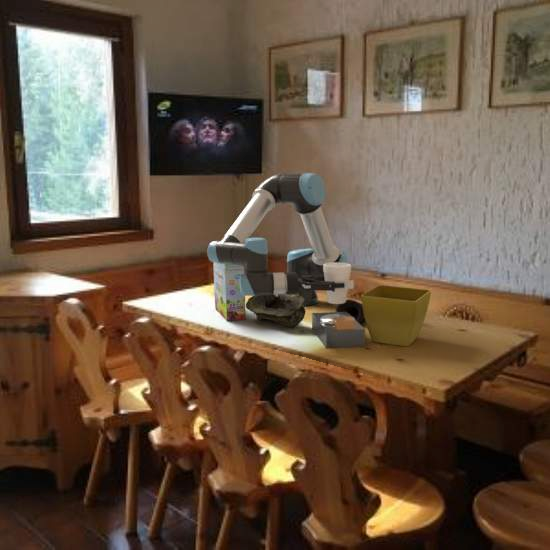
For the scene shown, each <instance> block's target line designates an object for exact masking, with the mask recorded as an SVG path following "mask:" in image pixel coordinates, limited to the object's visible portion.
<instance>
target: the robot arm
mask: <svg viewBox="0 0 550 550" xmlns="http://www.w3.org/2000/svg"><path fill="white" fill-rule="evenodd" d="M325 199H326V185H325V182H324V180H323V178H322V176H320V175H319V174H316V173H313V172H303V173H301V172H299V173H297V172H293V173H292V172H286V173H285V172H279V173H276V174H273V175H271V176H269V177H268V178H267V179H265V180H264V181H263V182H261V183H260V184H259V185H258V186H257V187H256V188H255V190H254V191H253V192H252V196H251V200H250V201H249V202H248V203H247V205H246V206H245V207H244V208H243V210H242V211H241V213H240V214H239V216H238V217H237V218H236V219H235V221H234V222H233V224H232V225H231V226H230V228H229V229H228V230H227V232H226V233H225V234H224V236H223V237H222V238H221V239H220V240H214V241H211V242H210V243H209V244H208V246H207V252H206V253H207V254H206V255H207V257H208V260H209V261H210V262H211V263H213V262H215V263H220V264H235V265H244V274H241V275H240V293H241V294H242V295H244V296H245V297H247V296H248V297H252V296H261V295H276V296H278V294H279V295H284V294H285V293H286V294H287V295H290V294H297V293H298V294H299V295H300V296H303V297H304V299H305V301H304V303H303V304H302V306H305V307H306V306H307V307H308V306H313V305H316V304H318V303H319V296H318V293H317V291H323V292H324V291H325V292H326V291H333V292H335V289H348V290H350V289H351V290H352V289H354V287H355V284H354V282H355V281H354V280H352V279H351V280H350V279H349V280H346V281H334V282H329V281H325V277H324V271H323V264H325V263H334V262H338V263H348V264H349V258H348V256H347V255H346V254H341V252H340V250H339V248H338V247H337V246H335V245H334V243H333V239H332V238H331V237H332V236H331V234H330V231H329V228H328V225H327V222H326V218H325V216H324V212H323V209H322V206H323V204H324V203H323V202H324V201H325ZM282 204H283V205H291V206H292V208H293V210H294V212H295V213H297V214H298V215H299V216H300V218H301V221H302V224H303V226H304V230H305V233H306V235H307V237H308V240H309V243H310V246H311V248H300V249H295V250H291V251H289V252H288V253H287V258H286V268H287V269H286V270H287V271H286V272H285V273H284V272H283V271H282V272H269V271H268V269H269V268H268V267H269V265H268V263H269V262H268V260H269V259H268V258H269V257H268V255H269V254H268V253H269V250H268V249H269V248H268V240H267V239H266V238H264V237H251V236H252V234H253V233H254V231H255V230H256V229H257V227H258V226H259V224H260V223H261V222H262V220H263V219H264V217H266V215H267V213H268V211H271V210H273V209H274V208H275V207H276V205H282ZM330 285H331V287H330Z"/></svg>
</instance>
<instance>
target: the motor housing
mask: <svg viewBox="0 0 550 550" xmlns="http://www.w3.org/2000/svg"><path fill="white" fill-rule="evenodd" d="M311 329H312V331H313V332H314V334H315V335H316V336H317V338H318V339H319V341H320V342H321V343H322V344H323V346H324V348H326V349H344V348H365V346H366V342H365V341H366V329H365V328H364V327H363V326H362V325H361V324H360V323H358V322H357V321H356V320H355V318H354V317H352V316H351V315H350V314H349V313H348V312H336V311H331V312H330V311H329V312H311Z"/></svg>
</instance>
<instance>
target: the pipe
mask: <svg viewBox="0 0 550 550" xmlns="http://www.w3.org/2000/svg"><path fill="white" fill-rule="evenodd" d="M335 305H336V306H335V312H348V313H349V314H350V315H351V316H352V317H354V318H355V320H356V321H357V322H358V323H359V324H360V323H362V322H364V321H365V317H364V312H363V306H362V302H358V301H356V300H354V299H348V298H347V299H346V302H345V303H343V304H335Z"/></svg>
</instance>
